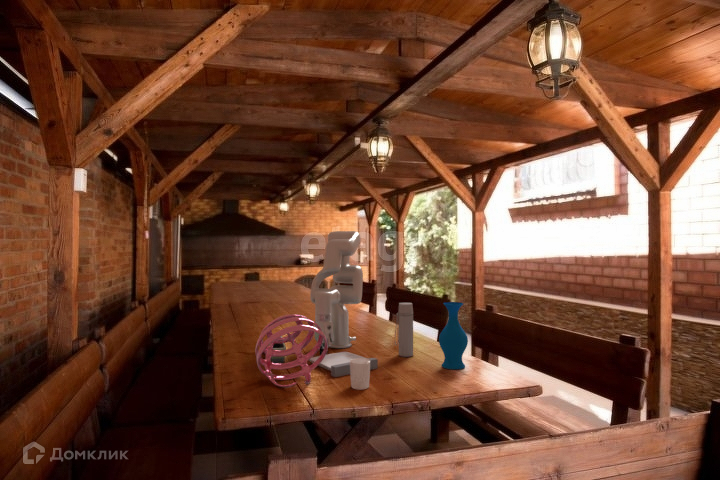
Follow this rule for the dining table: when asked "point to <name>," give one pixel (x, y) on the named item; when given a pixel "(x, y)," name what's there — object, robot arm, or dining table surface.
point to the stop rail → (345, 368)
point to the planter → (278, 347)
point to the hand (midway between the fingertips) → (323, 356)
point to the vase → (453, 339)
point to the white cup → (360, 373)
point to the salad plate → (335, 359)
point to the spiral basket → (295, 348)
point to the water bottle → (405, 329)
